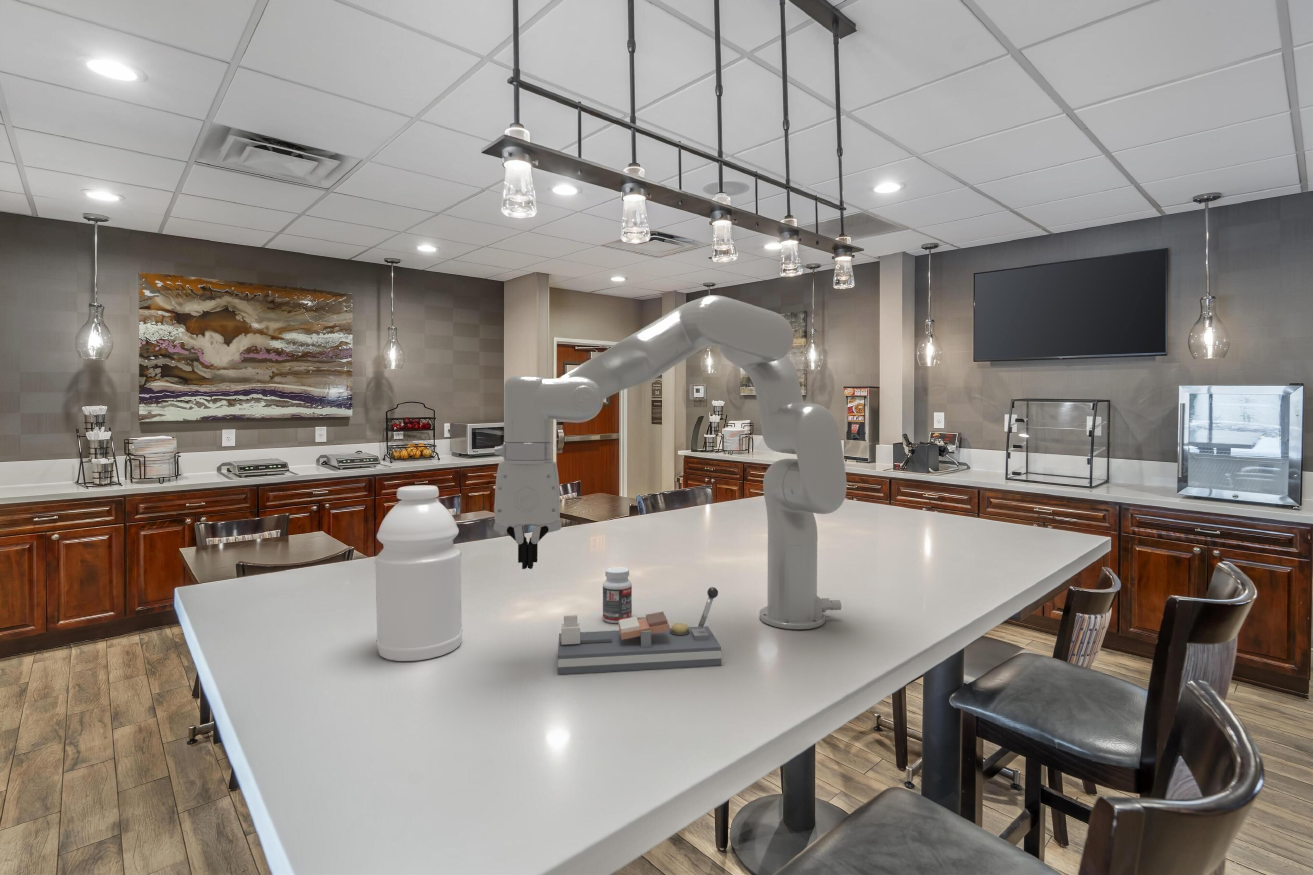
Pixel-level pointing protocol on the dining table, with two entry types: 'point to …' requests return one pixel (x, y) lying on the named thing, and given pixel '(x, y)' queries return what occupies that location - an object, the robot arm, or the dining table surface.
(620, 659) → the console
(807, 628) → the robot arm
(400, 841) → the dining table surface
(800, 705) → the dining table surface
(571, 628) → the slider
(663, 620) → the rocker
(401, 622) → the bottle
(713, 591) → the lever
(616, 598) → the pill bottle
